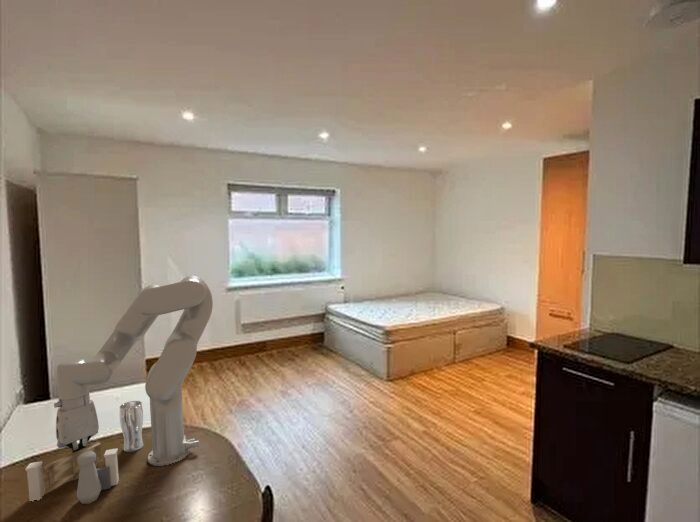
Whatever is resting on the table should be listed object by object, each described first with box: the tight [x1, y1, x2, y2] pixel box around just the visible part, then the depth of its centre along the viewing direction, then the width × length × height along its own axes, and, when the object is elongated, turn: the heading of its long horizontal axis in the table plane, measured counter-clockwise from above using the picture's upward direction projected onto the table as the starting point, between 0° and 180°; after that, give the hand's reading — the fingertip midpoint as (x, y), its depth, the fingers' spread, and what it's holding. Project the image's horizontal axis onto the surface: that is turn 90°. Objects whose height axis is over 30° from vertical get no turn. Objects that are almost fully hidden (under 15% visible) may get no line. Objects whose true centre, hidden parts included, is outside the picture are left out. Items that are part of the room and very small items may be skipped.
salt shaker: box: [76, 451, 102, 505], centre depth 112 cm, size 6×6×13 cm
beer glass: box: [119, 400, 144, 453], centre depth 139 cm, size 7×7×15 cm
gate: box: [42, 441, 104, 493], centre depth 121 cm, size 15×2×7 cm, turn 148°
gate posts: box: [25, 448, 120, 502], centre depth 116 cm, size 22×4×10 cm, turn 109°
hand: (79, 458), depth 125 cm, fingers closed
